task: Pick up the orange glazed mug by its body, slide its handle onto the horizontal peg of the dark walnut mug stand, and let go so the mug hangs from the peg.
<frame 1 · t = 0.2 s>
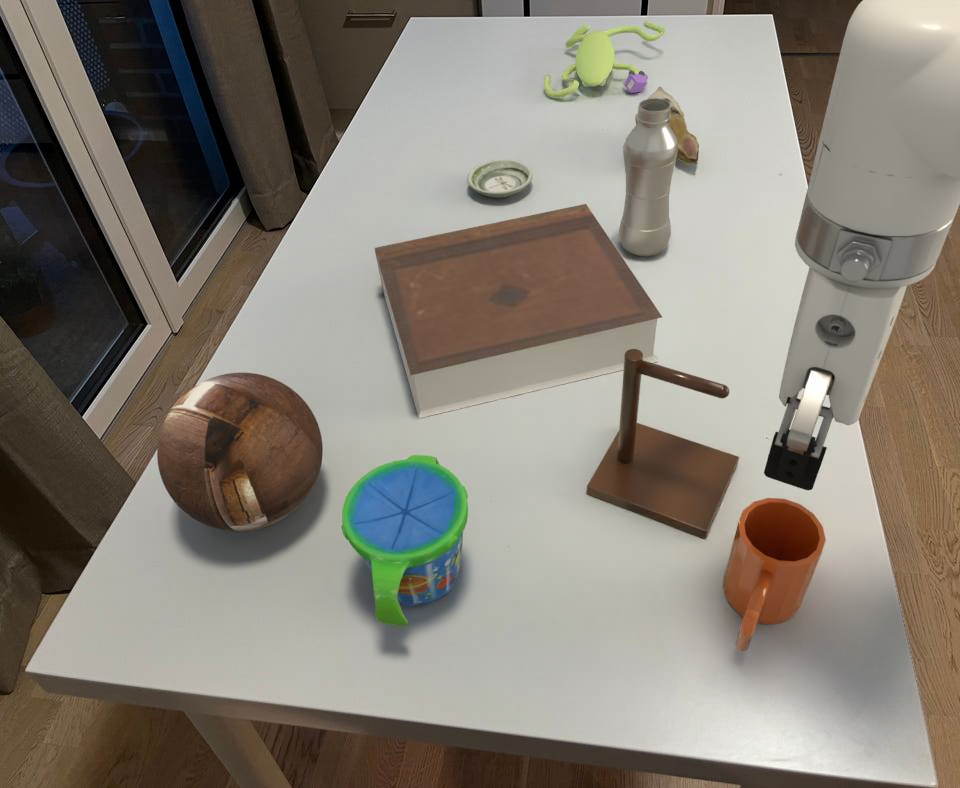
hand: (805, 432, 57), 19 cm above the table, tool pointing down, fingers open, 9 cm apart
snack cup: (420, 573, 73), on the table
mug stand: (662, 479, 79), on the table
ceramic sculpture: (659, 153, 124), on the table
saucer: (500, 190, 120), on the table
wooden sphere: (264, 500, 81), on the table
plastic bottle: (643, 249, 106), on the table
mug: (761, 590, 69), on the table
figurine: (604, 71, 147), on the table
book: (510, 324, 98), on the table
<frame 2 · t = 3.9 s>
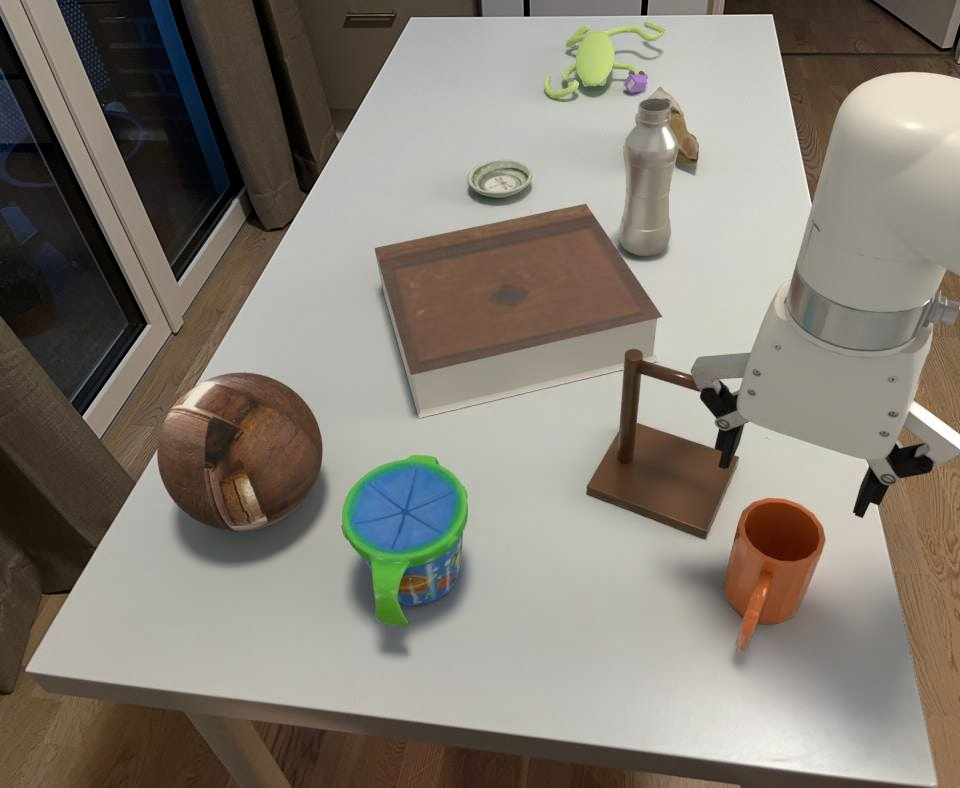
hand: (792, 478, 59), 15 cm above the table, tool pointing down, fingers open, 9 cm apart
nothing on the table moved.
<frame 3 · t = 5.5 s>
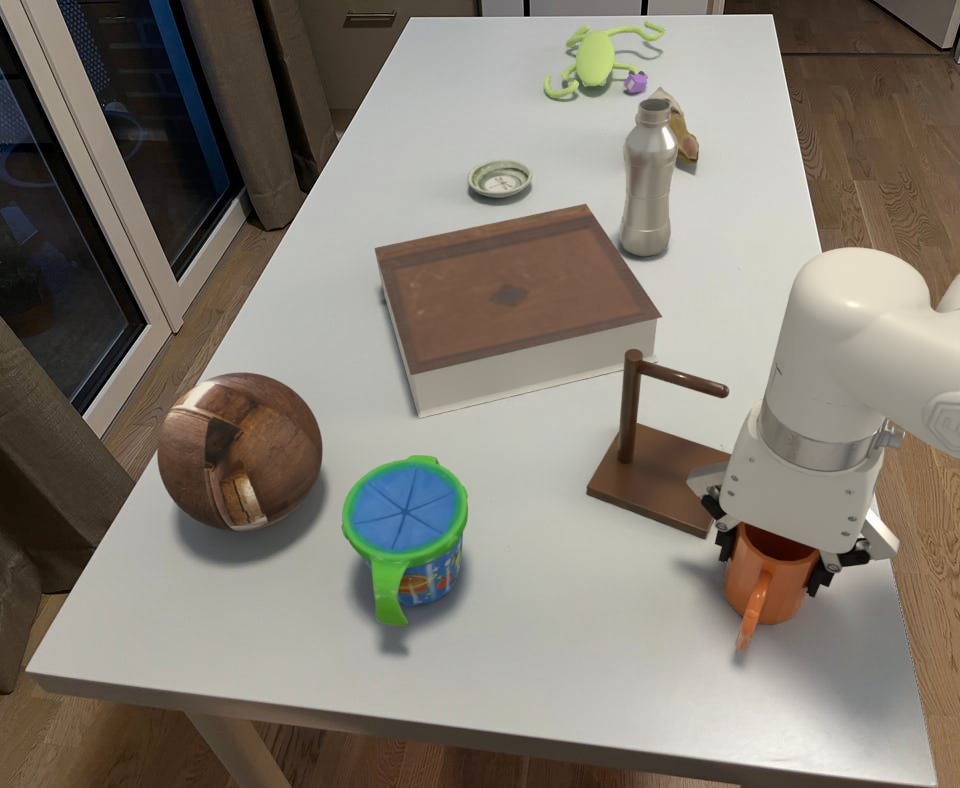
hand: (770, 564, 66), 4 cm above the table, tool pointing down, fingers closed on mug, 6 cm apart
mug: (761, 590, 69), on the table, touching gripper
everything else where it was.
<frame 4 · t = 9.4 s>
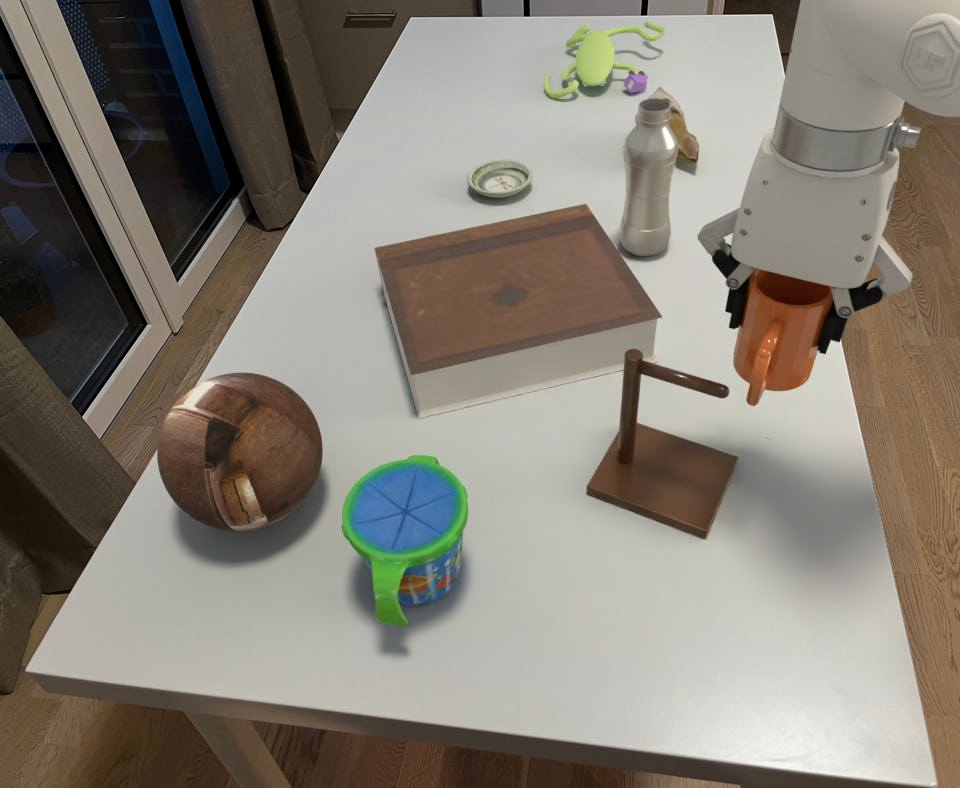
hand: (780, 329, 66), 18 cm above the table, tool pointing down, fingers closed on mug, 6 cm apart
mug: (771, 365, 69), point 14 cm above the table, touching gripper
everything else where it was.
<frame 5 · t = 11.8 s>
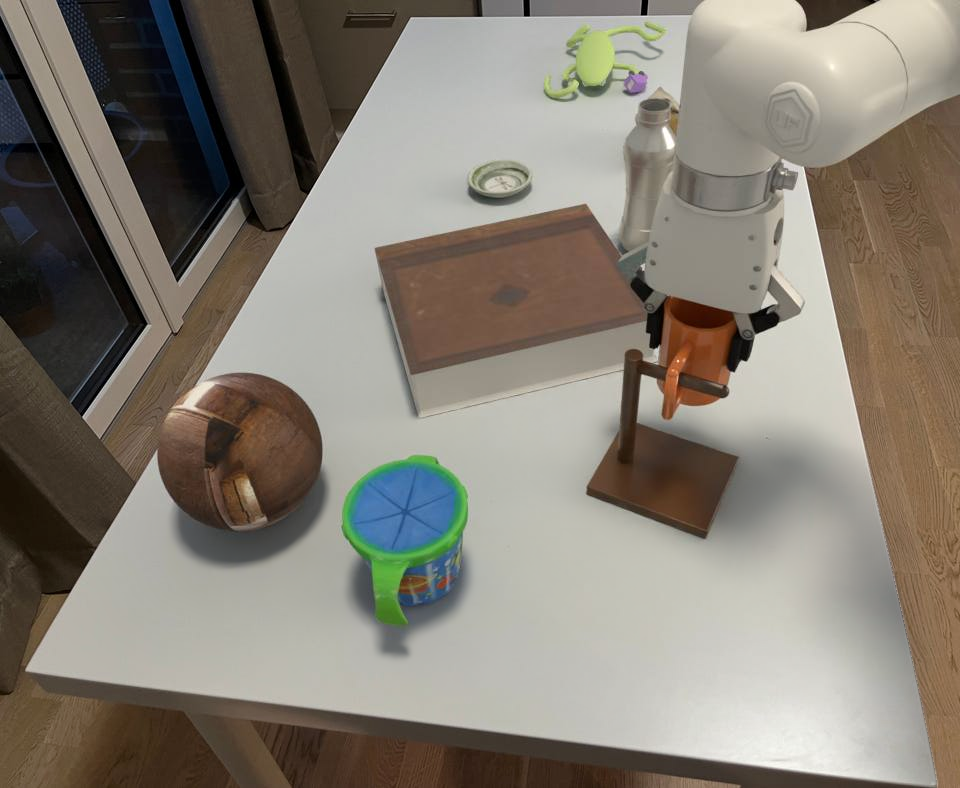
hand: (696, 349, 72), 13 cm above the table, tool pointing down, fingers closed on mug, 6 cm apart
mug: (691, 381, 75), point 9 cm above the table, touching gripper
everything else where it was.
when the fingers open (12 cm above the table, at t = 13.4 s): mug drops 1 cm and tips over, resting on mug stand.
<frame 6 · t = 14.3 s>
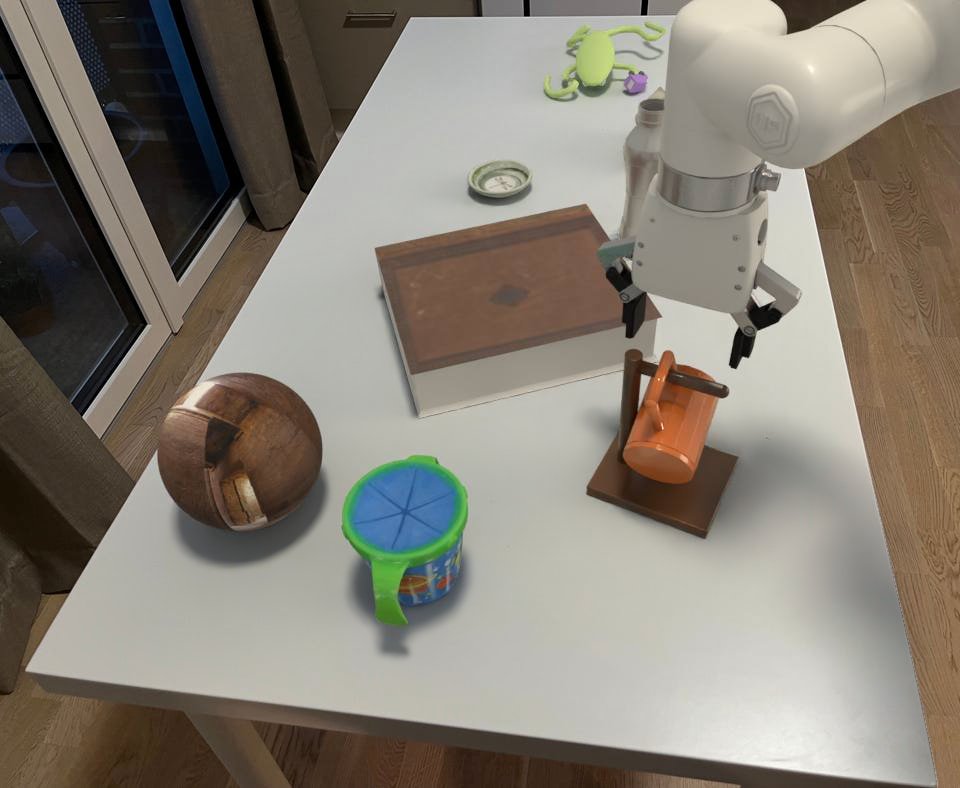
hand: (684, 343, 72), 14 cm above the table, tool pointing down, fingers open, 9 cm apart
mug: (657, 465, 71), point 7 cm above the table, tilted 75°, touching mug stand
everything else where it was.
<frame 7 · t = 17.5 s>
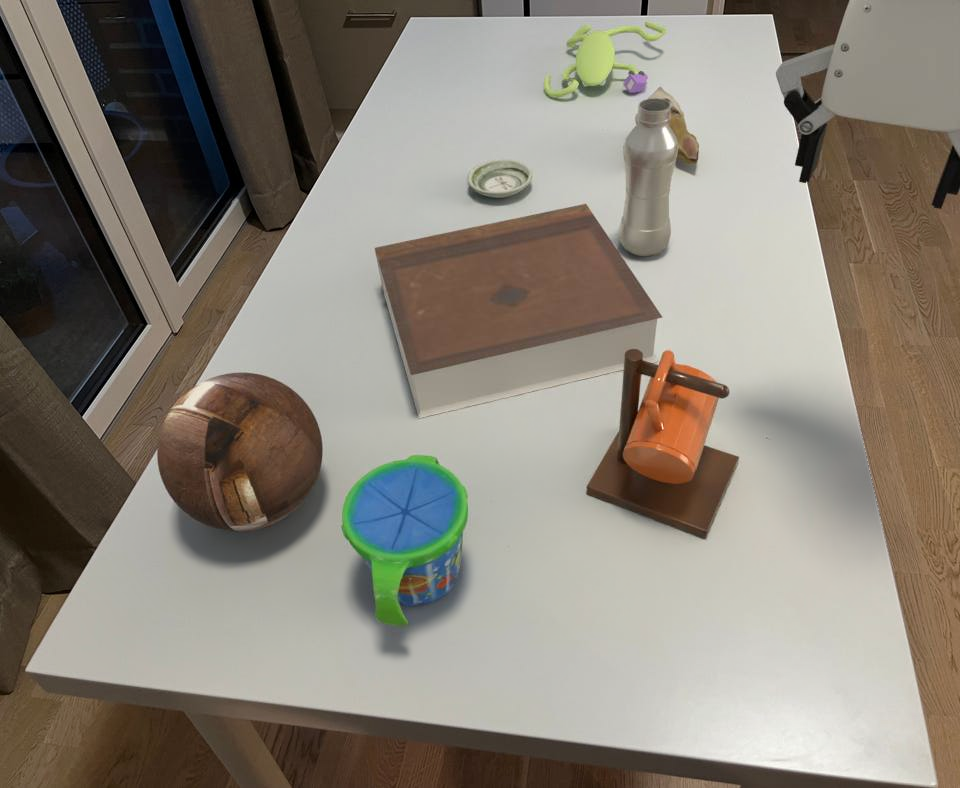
hand: (871, 186, 62), 28 cm above the table, tool pointing down, fingers open, 9 cm apart
nothing on the table moved.
at the end: mug touching mug stand; mug moved 13.9 cm from its start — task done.
